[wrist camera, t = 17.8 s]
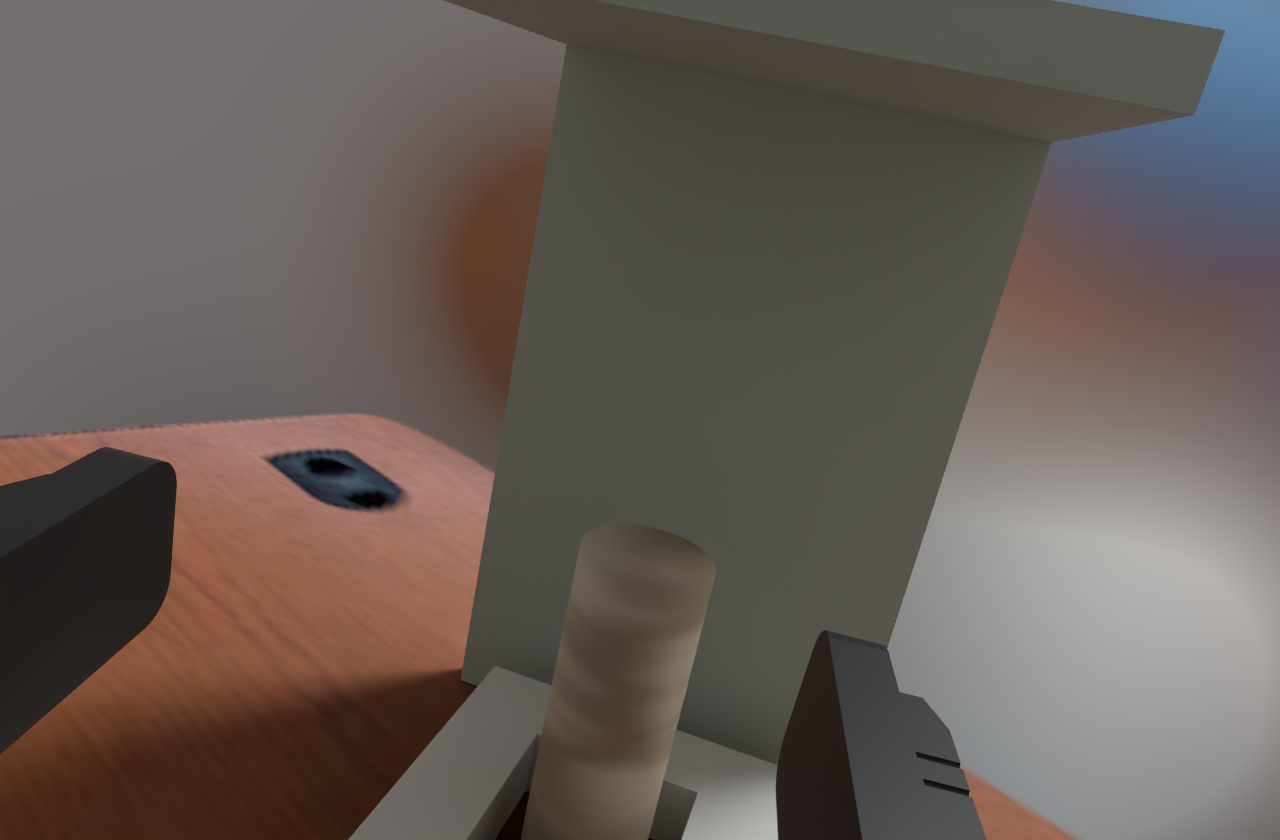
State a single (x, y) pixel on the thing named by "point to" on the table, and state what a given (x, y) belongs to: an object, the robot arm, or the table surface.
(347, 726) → the table surface
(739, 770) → the socket plate
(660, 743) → the birch peg
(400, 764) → the table surface
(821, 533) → the c-shaped stand frame
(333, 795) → the table surface
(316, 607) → the table surface
